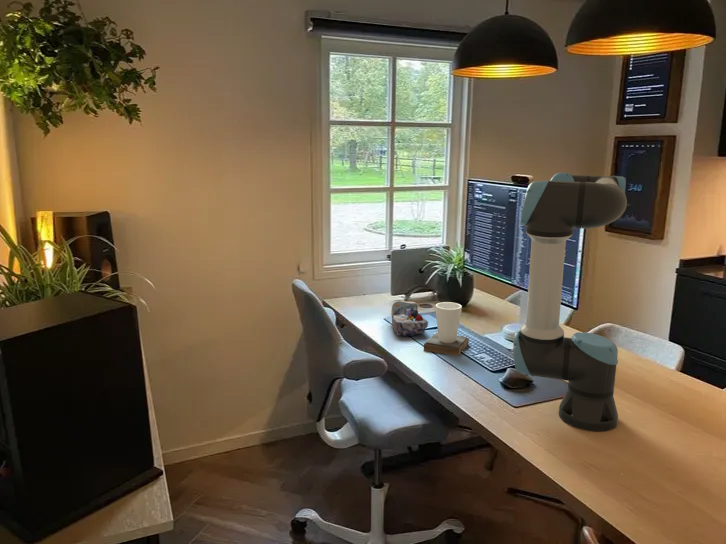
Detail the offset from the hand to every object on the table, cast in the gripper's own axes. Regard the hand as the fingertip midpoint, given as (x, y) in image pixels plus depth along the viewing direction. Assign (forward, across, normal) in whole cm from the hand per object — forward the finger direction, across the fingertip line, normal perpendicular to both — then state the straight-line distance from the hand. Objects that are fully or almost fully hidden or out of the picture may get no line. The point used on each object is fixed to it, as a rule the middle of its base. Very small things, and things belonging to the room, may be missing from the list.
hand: (544, 283), depth 192 cm
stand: (+30, 0, -31) cm, 43 cm away
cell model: (+29, -8, -53) cm, 61 cm away
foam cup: (+27, 0, -31) cm, 41 cm away
